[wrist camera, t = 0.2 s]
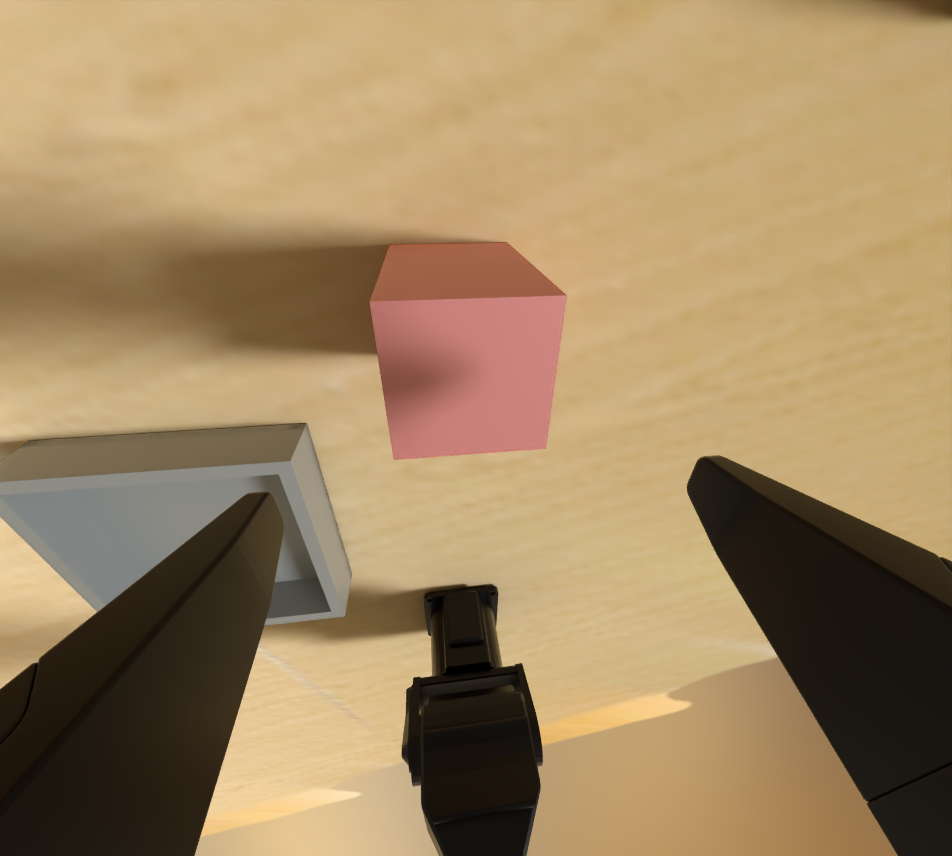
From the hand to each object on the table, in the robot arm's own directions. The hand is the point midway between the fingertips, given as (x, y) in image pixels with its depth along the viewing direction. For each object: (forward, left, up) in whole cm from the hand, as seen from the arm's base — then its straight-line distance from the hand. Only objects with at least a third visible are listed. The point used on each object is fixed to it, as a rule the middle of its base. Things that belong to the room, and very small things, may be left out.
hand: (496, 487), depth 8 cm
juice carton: (0, 0, -14) cm, 14 cm away
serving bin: (-14, +16, -14) cm, 25 cm away
